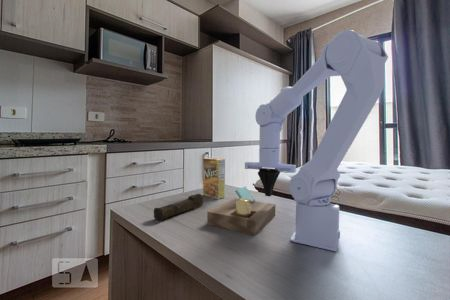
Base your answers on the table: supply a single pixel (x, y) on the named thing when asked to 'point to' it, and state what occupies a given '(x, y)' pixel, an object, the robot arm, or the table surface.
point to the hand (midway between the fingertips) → (268, 195)
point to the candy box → (214, 177)
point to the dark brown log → (178, 207)
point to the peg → (243, 207)
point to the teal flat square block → (244, 194)
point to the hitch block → (228, 219)
